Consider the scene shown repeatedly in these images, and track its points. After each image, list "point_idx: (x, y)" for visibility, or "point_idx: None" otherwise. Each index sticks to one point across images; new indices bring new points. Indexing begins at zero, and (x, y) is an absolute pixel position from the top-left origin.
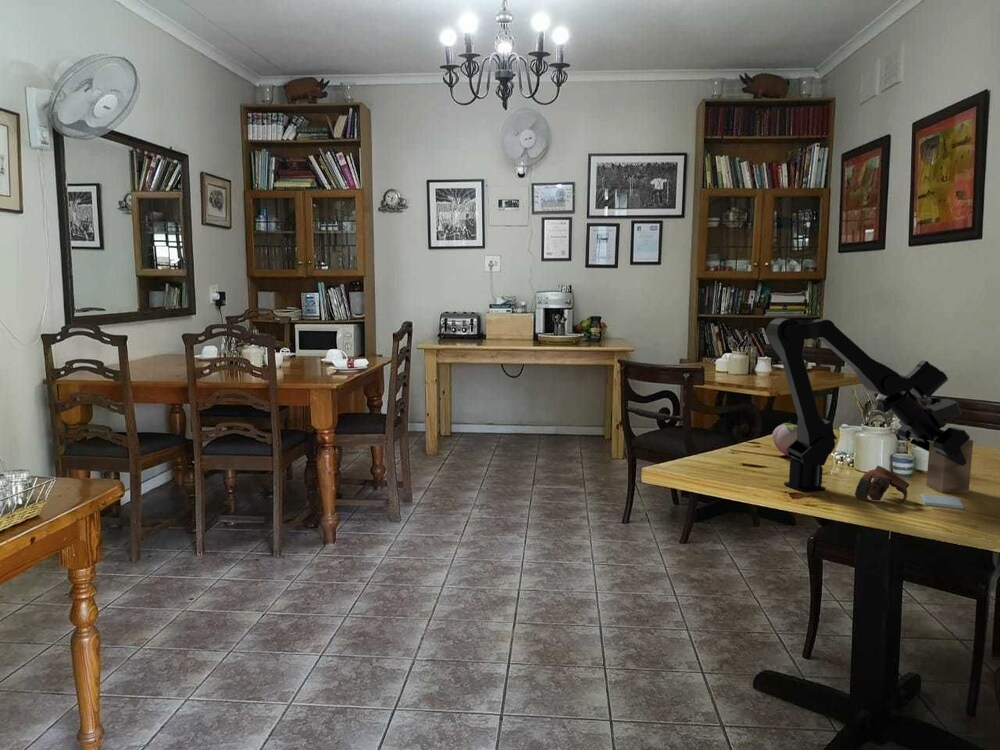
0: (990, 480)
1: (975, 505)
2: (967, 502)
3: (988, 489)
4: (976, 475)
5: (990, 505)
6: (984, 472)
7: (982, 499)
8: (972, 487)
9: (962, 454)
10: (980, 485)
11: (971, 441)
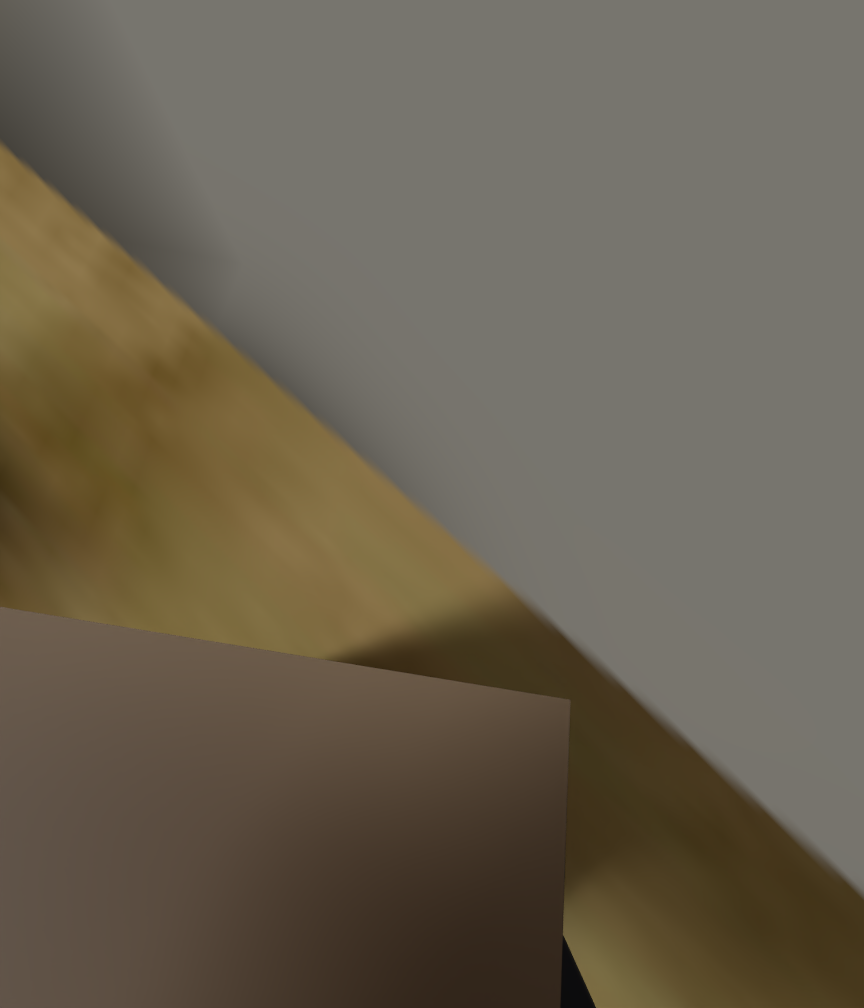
0: (217, 338)
1: (797, 970)
2: (713, 968)
3: (386, 499)
4: (104, 326)
5: (775, 824)
6: (74, 248)
7: (617, 747)
8: (326, 560)
9: (578, 988)
10: (295, 473)
11: (556, 744)
